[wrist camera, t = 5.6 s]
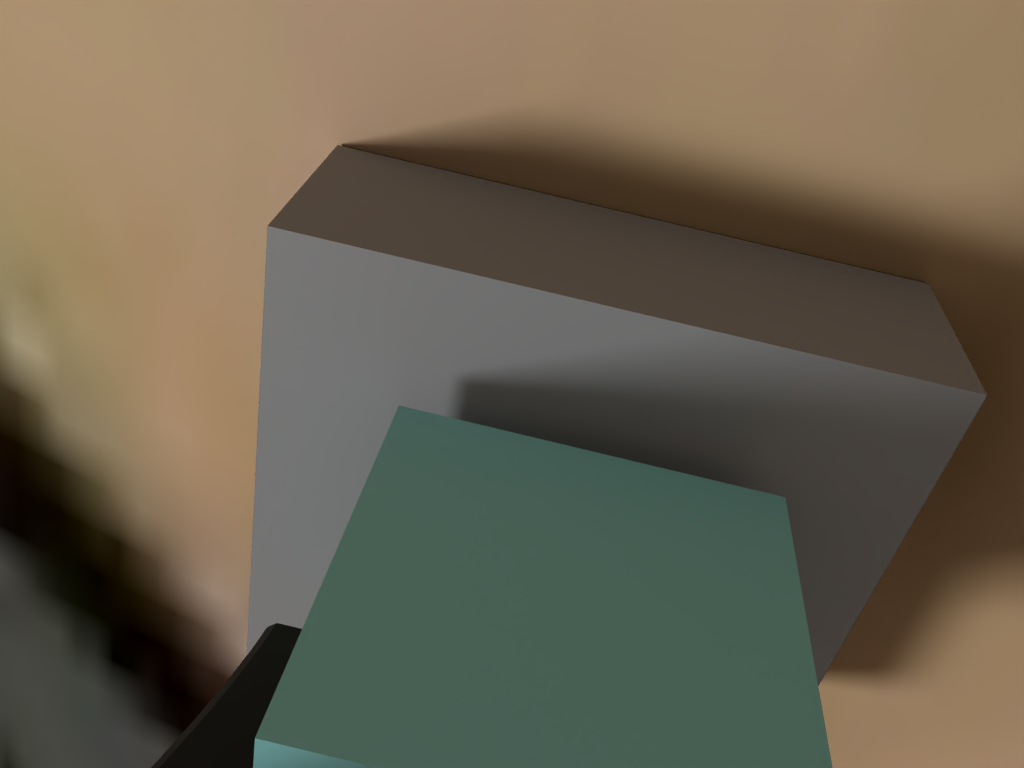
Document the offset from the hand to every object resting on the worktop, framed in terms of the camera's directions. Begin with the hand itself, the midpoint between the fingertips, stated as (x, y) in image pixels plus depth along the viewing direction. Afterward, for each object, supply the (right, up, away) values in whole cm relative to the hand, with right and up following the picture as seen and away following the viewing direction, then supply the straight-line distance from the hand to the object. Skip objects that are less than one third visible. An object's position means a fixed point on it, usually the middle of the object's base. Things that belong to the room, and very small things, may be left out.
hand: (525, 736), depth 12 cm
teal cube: (0, +1, +2) cm, 2 cm away
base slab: (+1, +3, +5) cm, 6 cm away
